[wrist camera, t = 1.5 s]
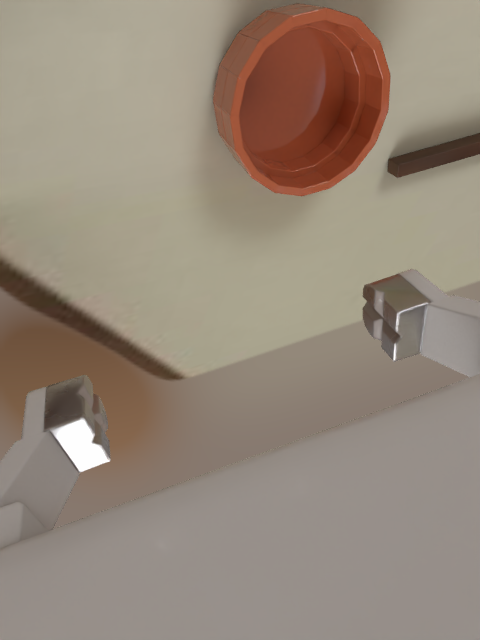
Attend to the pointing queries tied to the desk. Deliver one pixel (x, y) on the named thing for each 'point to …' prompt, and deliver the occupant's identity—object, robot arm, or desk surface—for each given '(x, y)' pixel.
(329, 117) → the bowl
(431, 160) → the frame
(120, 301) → the desk surface
